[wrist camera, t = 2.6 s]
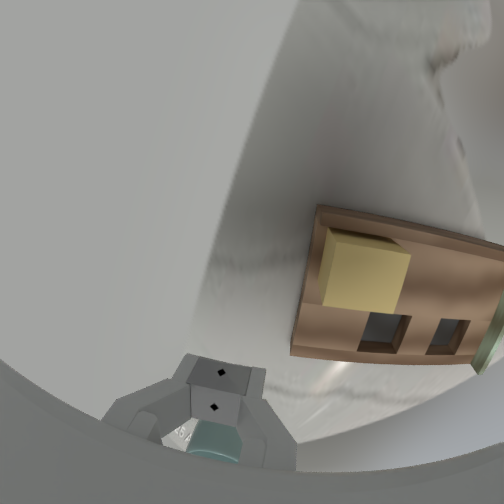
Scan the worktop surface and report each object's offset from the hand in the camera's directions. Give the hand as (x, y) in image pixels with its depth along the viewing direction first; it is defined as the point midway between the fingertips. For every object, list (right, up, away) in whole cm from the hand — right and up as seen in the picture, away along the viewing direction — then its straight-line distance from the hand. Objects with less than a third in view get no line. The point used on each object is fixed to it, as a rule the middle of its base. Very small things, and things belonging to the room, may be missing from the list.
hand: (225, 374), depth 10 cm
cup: (-2, -18, +26) cm, 32 cm away
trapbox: (+19, 0, +17) cm, 25 cm away
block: (+10, +4, +14) cm, 18 cm away
